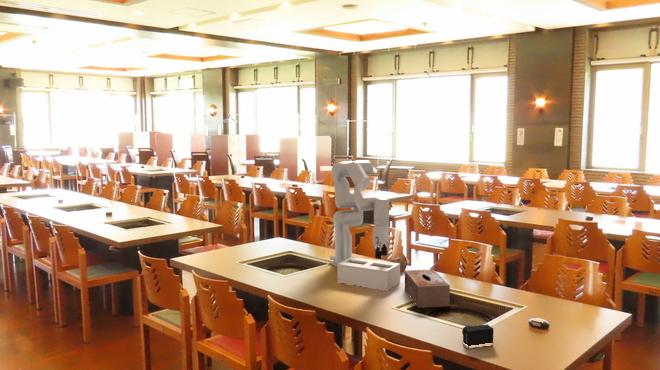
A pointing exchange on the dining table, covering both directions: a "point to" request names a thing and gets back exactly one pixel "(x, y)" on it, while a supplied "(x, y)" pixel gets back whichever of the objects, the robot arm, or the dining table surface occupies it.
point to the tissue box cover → (427, 288)
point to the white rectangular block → (369, 273)
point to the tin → (402, 263)
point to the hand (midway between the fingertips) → (381, 256)
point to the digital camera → (477, 334)
